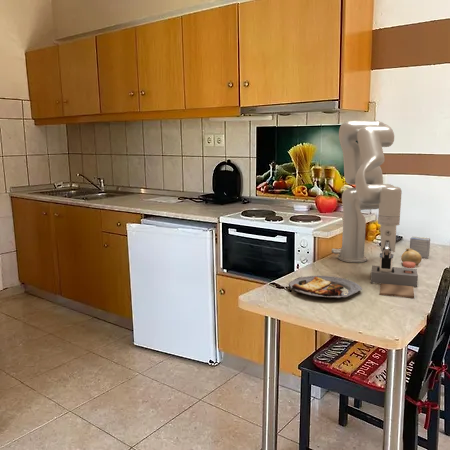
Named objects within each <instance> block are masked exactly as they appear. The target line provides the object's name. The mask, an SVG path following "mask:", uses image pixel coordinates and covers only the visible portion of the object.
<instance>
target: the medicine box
mask: <svg viewBox="0 0 450 450" xmlns="http://www.w3.org/2000/svg"><path fill="white" fill-rule="evenodd" d="M409 239H410V240H409V249H413V250H415V251H417V252H418V253H419V254H420V255H421V258H422V259H428V258H429V257H430V252H431V251H430V248H431V247H430V246H431V238H430V237H425V236H424V237H421V236H411V237H410V238H409Z"/></svg>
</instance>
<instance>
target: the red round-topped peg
mask: <svg viewBox="0 0 450 450" xmlns="http://www.w3.org/2000/svg"><path fill="white" fill-rule="evenodd" d="M415 264H416V263H414V262H409V261H405V262H402V268H410V269H416V266H415ZM405 273H412V271H405Z"/></svg>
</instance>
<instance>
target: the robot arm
mask: <svg viewBox="0 0 450 450" xmlns="http://www.w3.org/2000/svg"><path fill="white" fill-rule="evenodd" d="M338 141H339V144H340V148H341V151H342V155H343V157H342V158H343V173H344V175H343V176H344V180H345V182H346V184H347V185H353V186H355V187H351V188H347V189H345V190H344V191H343V192H342V194H341V202H342V212H343V213H342V215H343V216H342V217H343V218H342V219H343V220H342V238H341V239H342V240H341V241H342V243H341V248H331V253H332V254H334V255H337V259H338V260H340V261H341V262H347V263H365V262H367V261H368V256H366V255H365V244H366V243H365V241H366V225H367V224H366V222H367V220H366V217H365V216H364V214H363V213H362V211H363V210H365V211H366V210H378V216H377V224H378V225H380V251H381V253H383V257H382V263H381V268H383V269H390V268H391V258H390V257H391V254H392V253H395V252H396V243H397V242H396V240H397V226H399V225H400V219H401V205H402V194H403V193H402V189H401V188H400V187H399V186H394V185H393V184H391V183H390V184H389V183H384V176H383V170H382V168H381V165H383V164H384V163H385V160H386V158H385V154H384V150H383V148H389V147H391V146H392V145H393V144H394V141H395V133H394V131H393V129H392V127H391V126H389V125H388V124H386V123H384V122H383V121H379V120H374V119H373V120H372V119H371V120H368V119H367V120H364V119H363V120H362V119H359V120H357V119H356V120H346V121H344V122H343V123H341V125H340V127H339V129H338Z"/></svg>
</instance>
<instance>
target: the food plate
mask: <svg viewBox="0 0 450 450" xmlns="http://www.w3.org/2000/svg"><path fill="white" fill-rule="evenodd" d="M288 287H289V288H290V290H293V291H294V292H297V293H300V294H304V295H307V296H309V297H318V298H327V299H330V298H331V299H334V298H335V299H340V298H343V299H345V298H348V297H352V296H353V295H355V294H356V293H359V291H363V287H362V286H360V284H358V283H357V282H355V281H352V280H350V279H347V278H343V277H339V276H330V275H329V276H328V275H306V276H299V277H297V278H295V279H293V280H291V281H289V283H288ZM344 289H345V290H346V291H345V290H344ZM347 291H348V293H347ZM344 293H345V294H347V295H344Z"/></svg>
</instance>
